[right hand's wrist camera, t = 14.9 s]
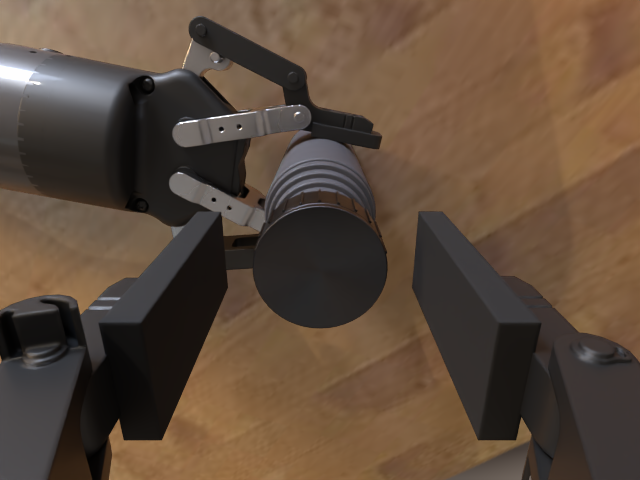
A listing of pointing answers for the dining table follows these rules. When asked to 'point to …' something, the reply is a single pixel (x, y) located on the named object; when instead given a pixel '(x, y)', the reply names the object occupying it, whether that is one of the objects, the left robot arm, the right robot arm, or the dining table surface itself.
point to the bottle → (319, 172)
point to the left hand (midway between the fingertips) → (366, 186)
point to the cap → (320, 260)
